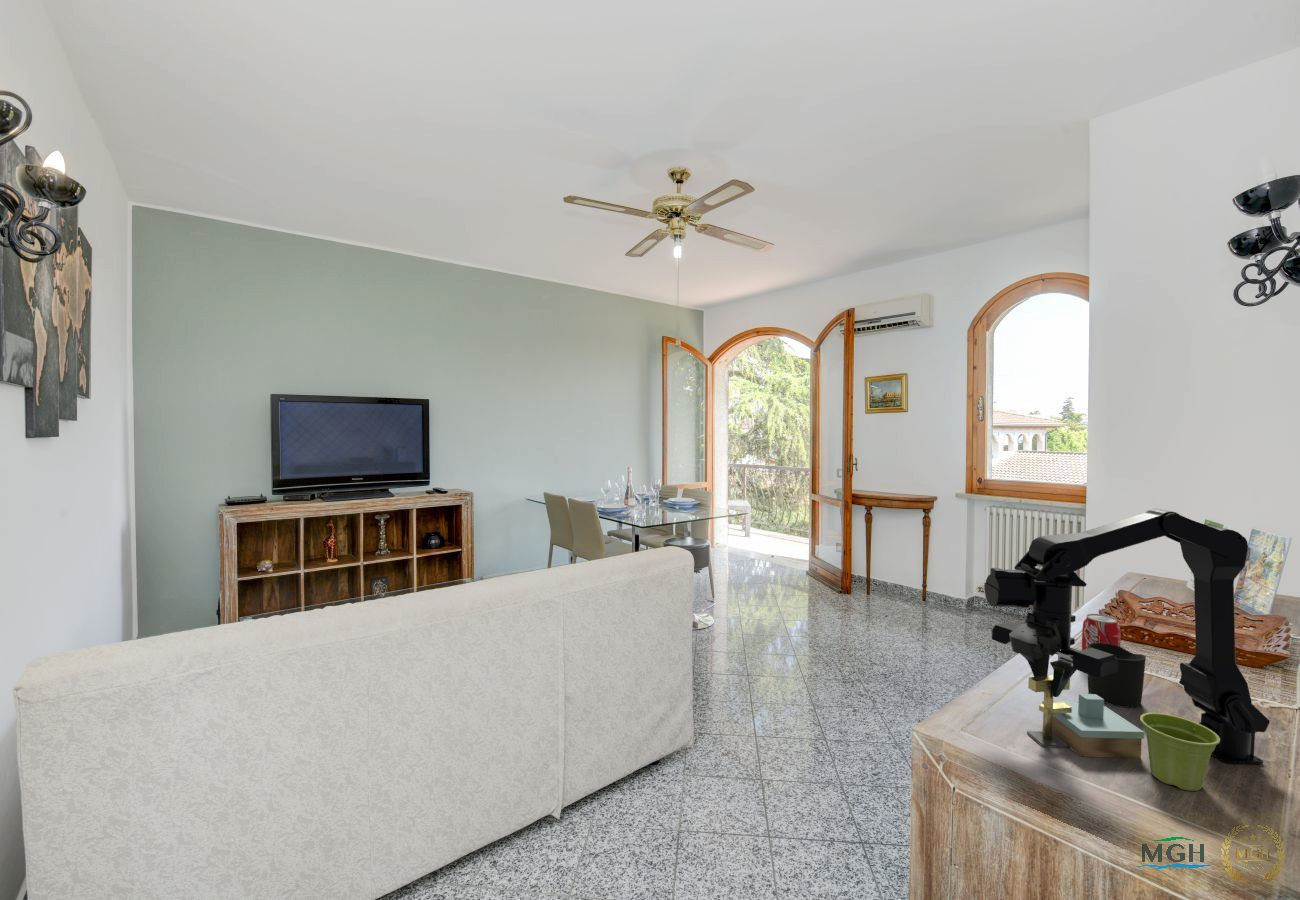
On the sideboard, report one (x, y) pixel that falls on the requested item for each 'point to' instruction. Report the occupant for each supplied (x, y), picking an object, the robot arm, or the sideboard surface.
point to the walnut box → (1088, 743)
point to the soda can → (1100, 630)
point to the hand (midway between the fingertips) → (1048, 693)
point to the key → (1048, 701)
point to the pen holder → (1119, 678)
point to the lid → (1096, 719)
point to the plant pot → (1178, 749)
